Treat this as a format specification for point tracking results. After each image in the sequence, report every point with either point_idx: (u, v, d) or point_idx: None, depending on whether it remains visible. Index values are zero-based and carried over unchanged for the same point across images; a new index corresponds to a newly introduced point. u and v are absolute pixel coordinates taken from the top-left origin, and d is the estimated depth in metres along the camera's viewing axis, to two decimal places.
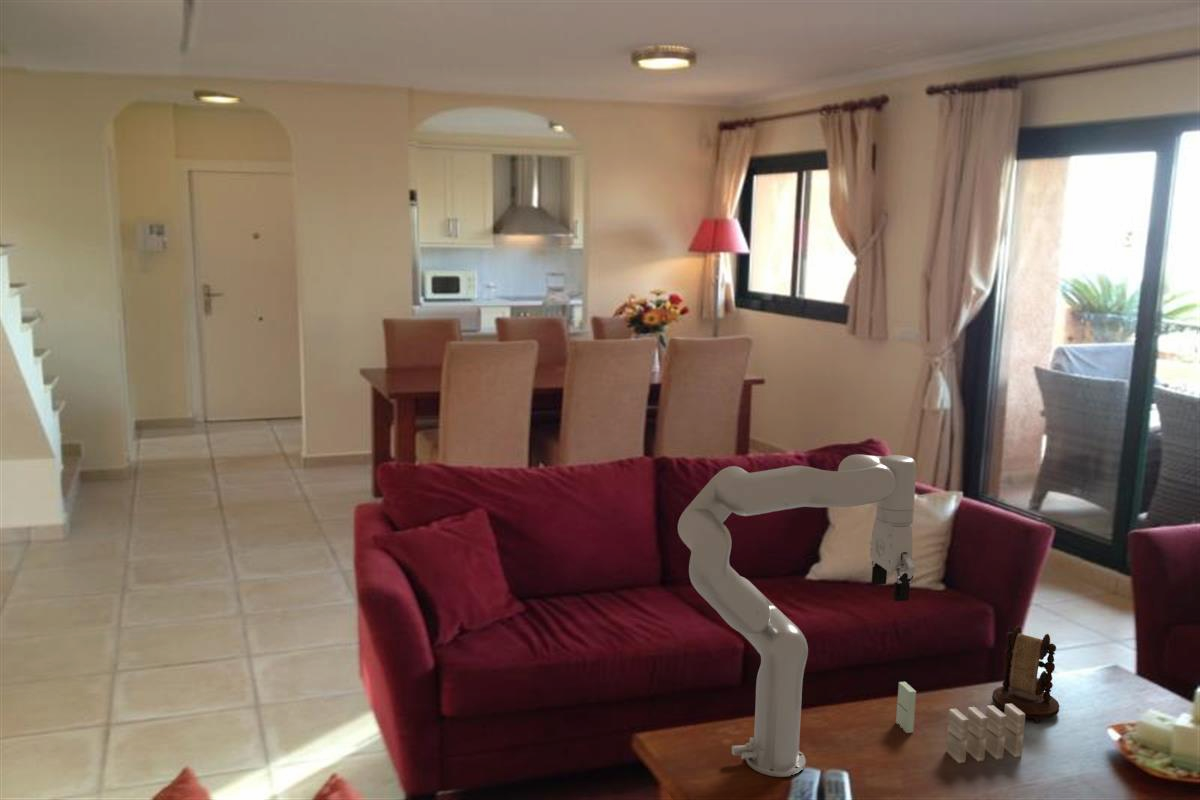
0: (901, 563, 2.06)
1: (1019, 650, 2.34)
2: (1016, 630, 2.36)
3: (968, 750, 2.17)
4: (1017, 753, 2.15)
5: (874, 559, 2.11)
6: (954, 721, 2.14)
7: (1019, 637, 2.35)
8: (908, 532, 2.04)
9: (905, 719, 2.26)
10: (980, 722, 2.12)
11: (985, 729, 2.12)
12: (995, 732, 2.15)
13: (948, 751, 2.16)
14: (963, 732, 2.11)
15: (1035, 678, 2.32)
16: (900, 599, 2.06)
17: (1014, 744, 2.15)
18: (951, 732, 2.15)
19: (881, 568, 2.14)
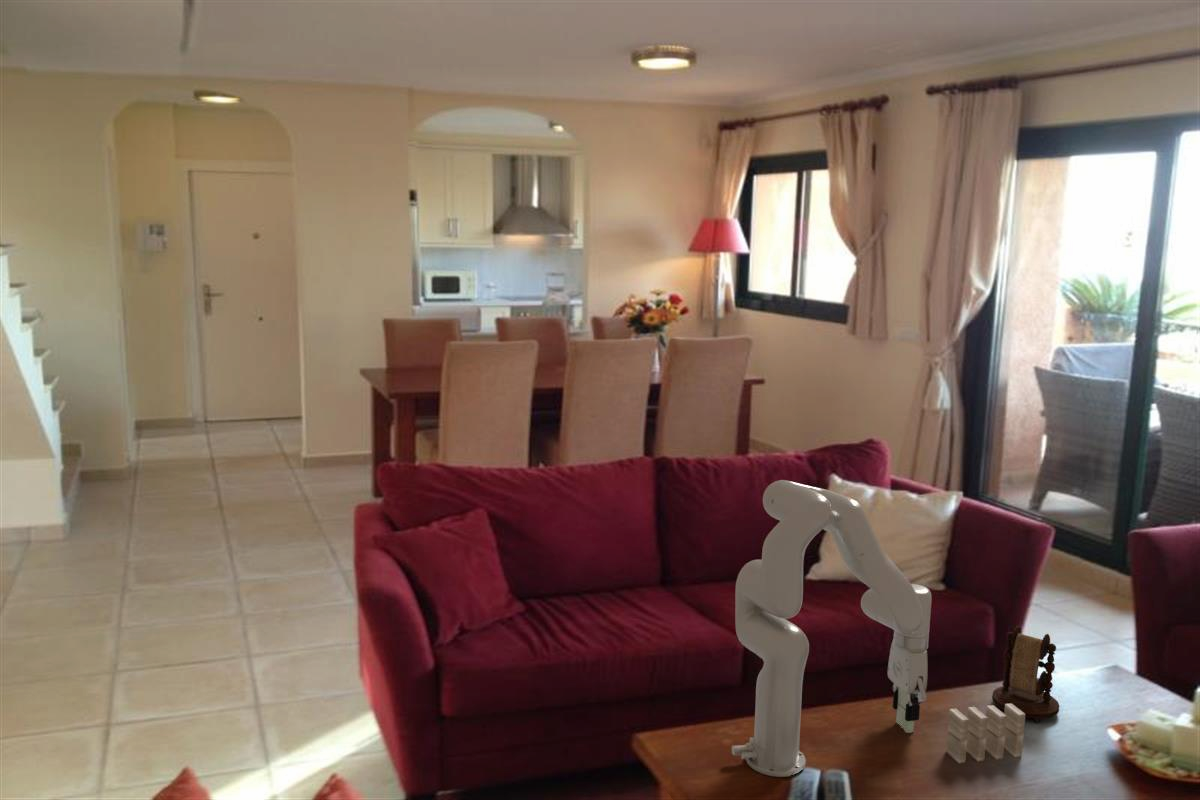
0: None
1: (1019, 650, 2.34)
2: (1016, 630, 2.36)
3: (968, 750, 2.17)
4: (1017, 753, 2.15)
5: (891, 679, 2.27)
6: (954, 721, 2.14)
7: (1019, 637, 2.35)
8: (924, 658, 2.20)
9: None
10: (980, 722, 2.12)
11: (985, 729, 2.12)
12: (995, 732, 2.15)
13: (948, 751, 2.16)
14: (963, 731, 2.11)
15: (1035, 678, 2.32)
16: (911, 719, 2.24)
17: (1014, 744, 2.15)
18: (951, 732, 2.15)
19: None
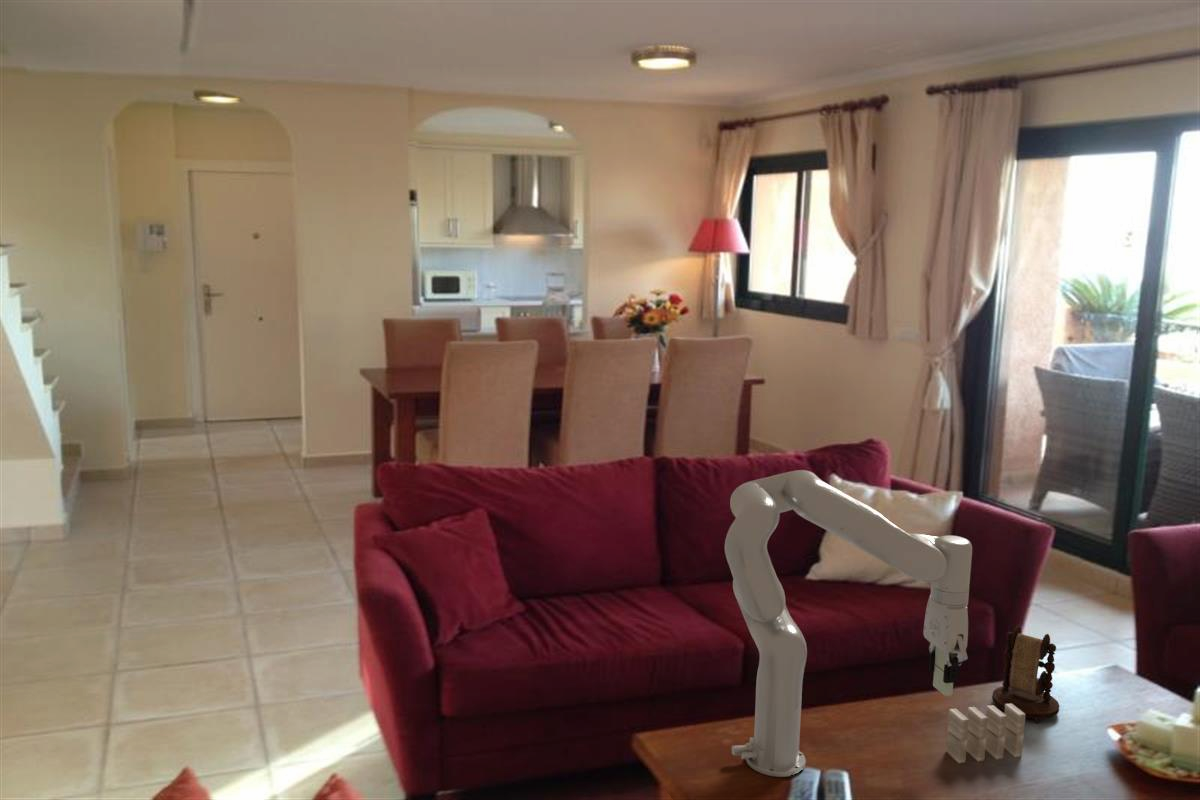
0: None
1: (1019, 650, 2.34)
2: (1016, 630, 2.36)
3: (968, 750, 2.17)
4: (1017, 753, 2.15)
5: (928, 638, 2.11)
6: (954, 721, 2.14)
7: (1019, 637, 2.35)
8: (964, 614, 2.04)
9: (943, 682, 2.10)
10: (980, 722, 2.12)
11: (985, 729, 2.12)
12: (995, 732, 2.15)
13: (948, 751, 2.16)
14: (963, 732, 2.11)
15: (1035, 678, 2.32)
16: (950, 681, 2.08)
17: (1014, 744, 2.15)
18: (951, 732, 2.15)
19: None
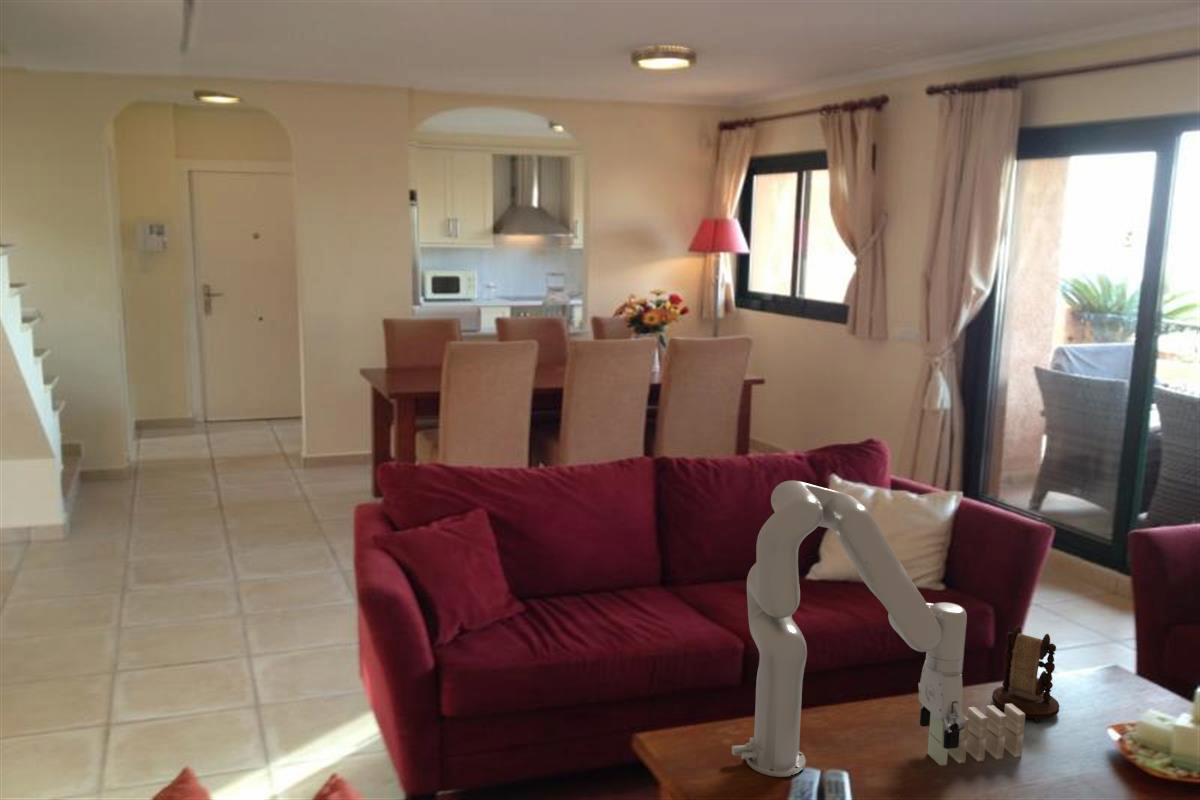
0: (951, 710, 2.09)
1: (1019, 650, 2.34)
2: (1016, 630, 2.36)
3: (968, 750, 2.17)
4: (1017, 753, 2.15)
5: (923, 703, 2.14)
6: None
7: (1019, 637, 2.35)
8: (959, 682, 2.07)
9: (938, 751, 2.12)
10: (980, 722, 2.12)
11: (985, 729, 2.12)
12: (995, 732, 2.15)
13: (948, 751, 2.16)
14: (963, 732, 2.11)
15: (1035, 678, 2.32)
16: (950, 747, 2.08)
17: (1014, 744, 2.15)
18: None
19: (929, 710, 2.17)
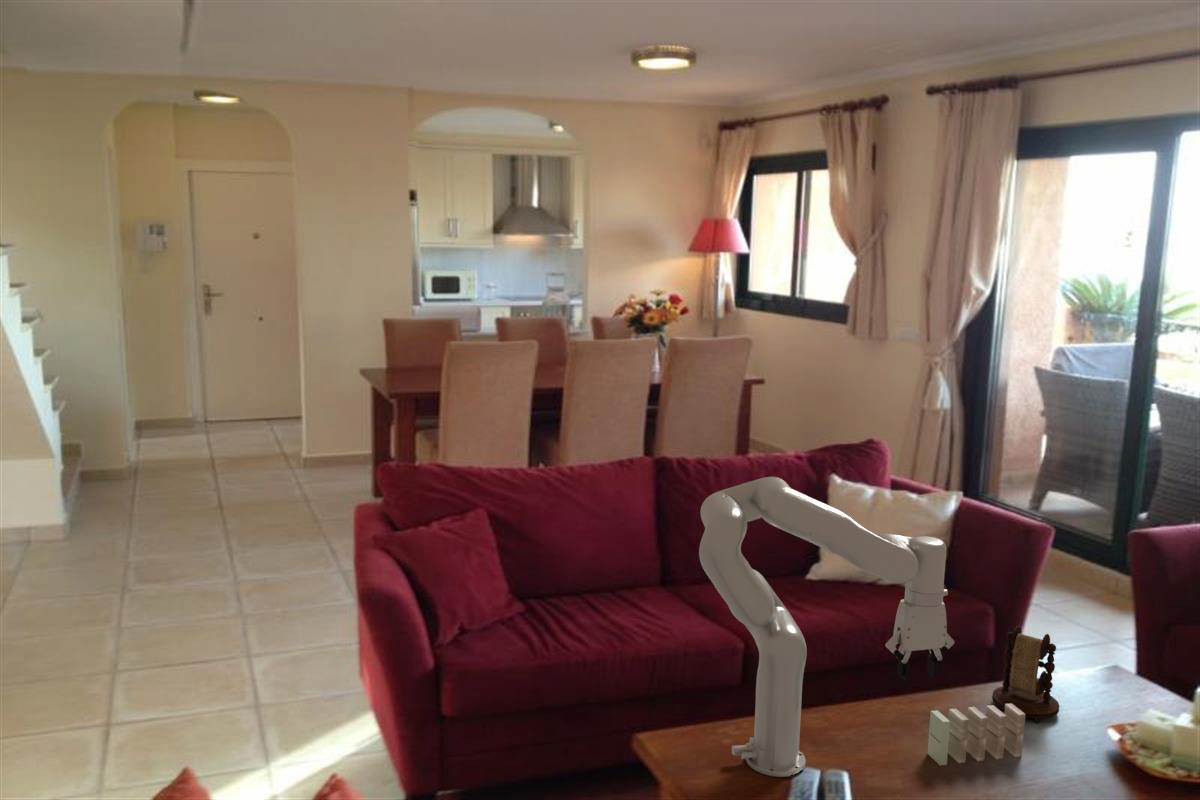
0: None
1: (1019, 650, 2.34)
2: (1016, 630, 2.36)
3: (968, 750, 2.17)
4: (1017, 753, 2.15)
5: None
6: (954, 721, 2.14)
7: (1019, 637, 2.35)
8: (905, 611, 2.05)
9: (938, 751, 2.12)
10: (980, 722, 2.12)
11: (985, 729, 2.12)
12: (995, 732, 2.15)
13: (948, 751, 2.16)
14: (963, 732, 2.11)
15: (1035, 678, 2.32)
16: (901, 676, 2.09)
17: (1014, 744, 2.15)
18: (951, 732, 2.15)
19: (931, 660, 2.10)
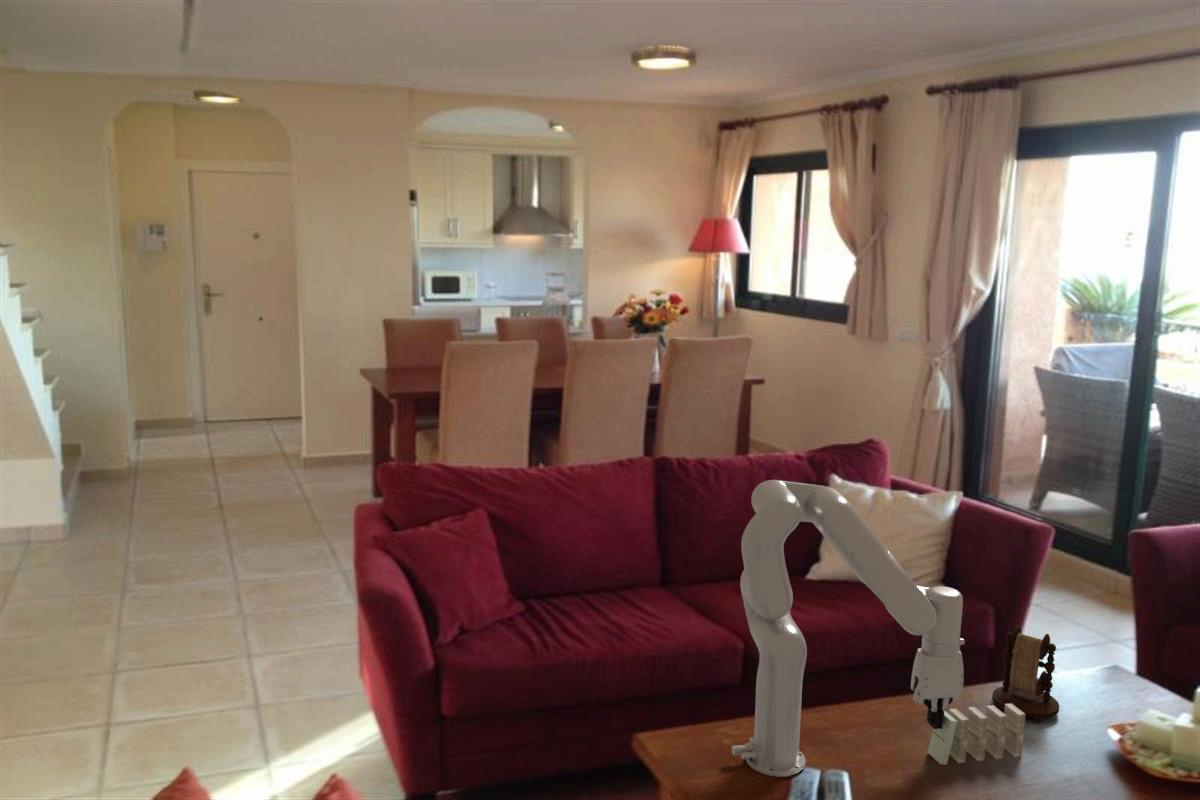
0: None
1: (1019, 650, 2.34)
2: (1016, 630, 2.36)
3: (968, 750, 2.17)
4: (1017, 753, 2.15)
5: None
6: None
7: (1019, 637, 2.35)
8: (922, 660, 2.08)
9: (940, 750, 2.12)
10: (980, 722, 2.12)
11: (985, 729, 2.12)
12: (995, 732, 2.15)
13: None
14: (963, 731, 2.11)
15: (1035, 678, 2.32)
16: (931, 724, 2.13)
17: (1014, 744, 2.15)
18: None
19: (937, 710, 2.12)
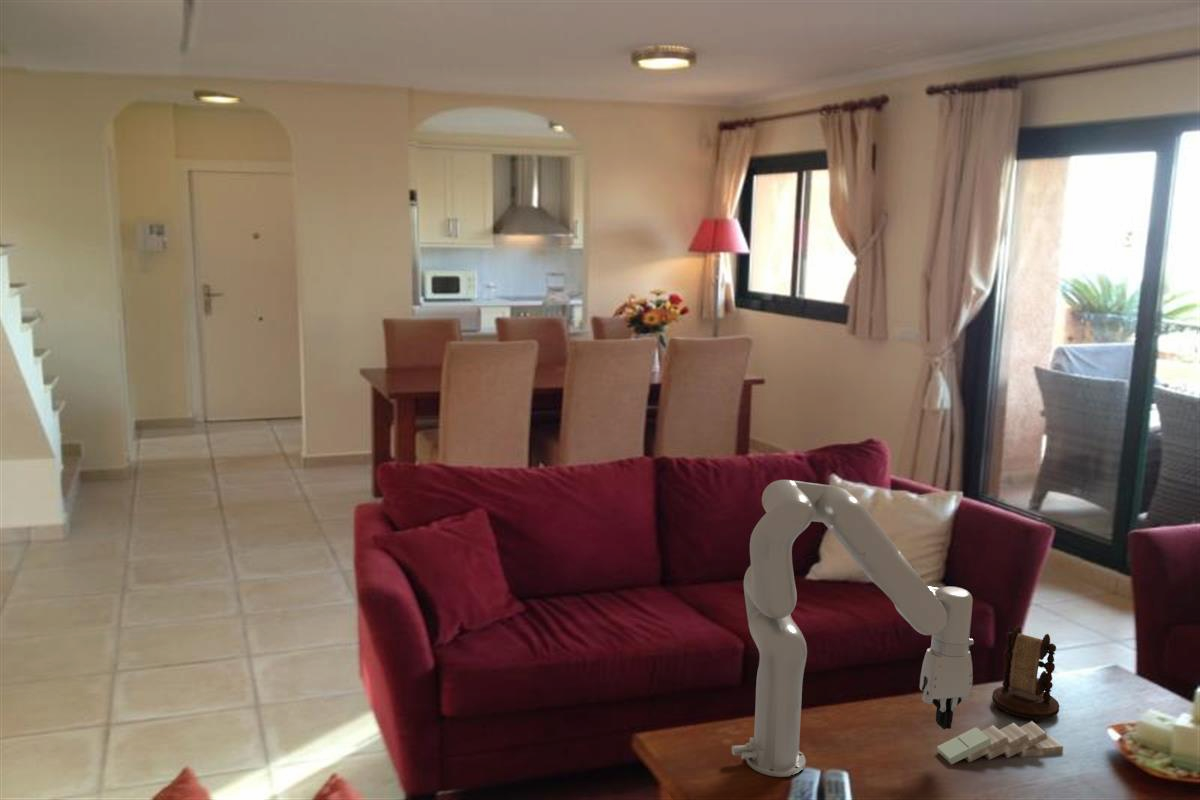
0: None
1: (1019, 650, 2.34)
2: (1016, 630, 2.36)
3: None
4: (1026, 752, 2.16)
5: None
6: (991, 733, 2.17)
7: (1019, 637, 2.35)
8: (931, 660, 2.09)
9: (957, 750, 2.13)
10: (1022, 735, 2.15)
11: (1018, 743, 2.15)
12: None
13: None
14: (996, 744, 2.14)
15: (1035, 678, 2.32)
16: (939, 724, 2.13)
17: (1032, 748, 2.16)
18: None
19: (945, 710, 2.12)
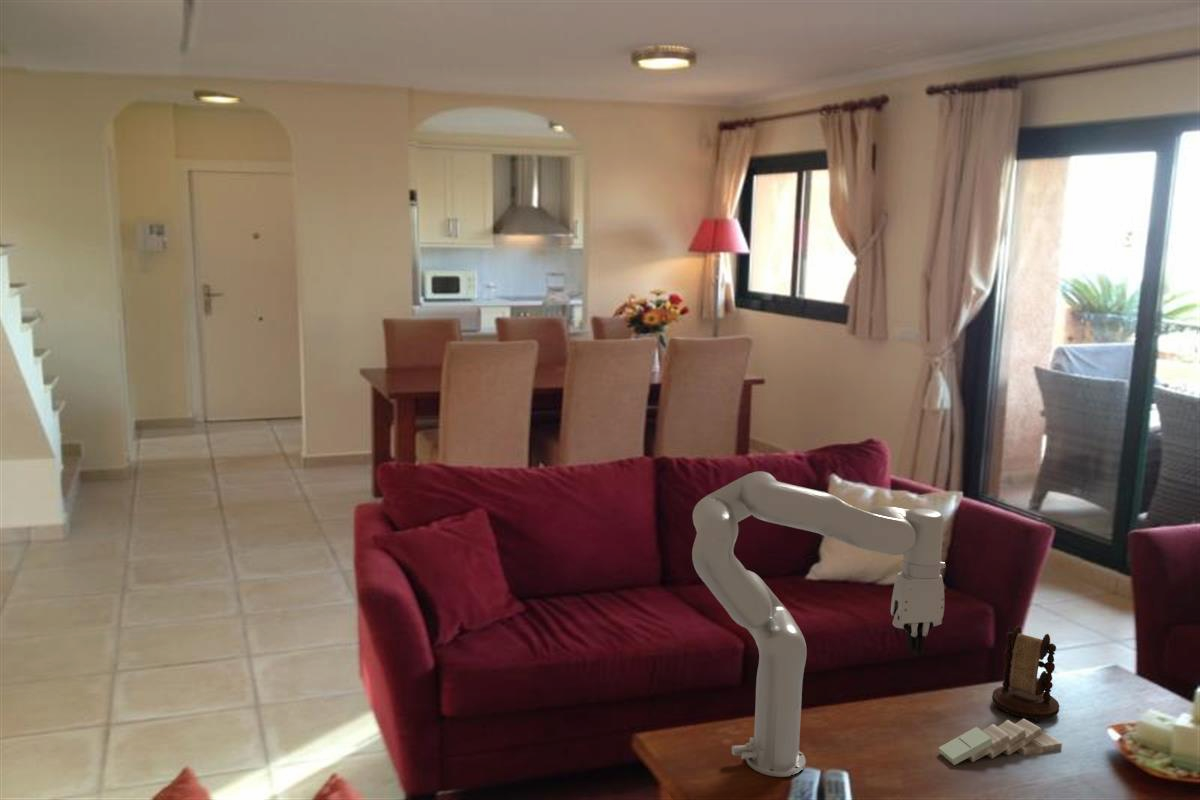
0: None
1: (1019, 650, 2.34)
2: (1016, 630, 2.36)
3: None
4: (1027, 751, 2.16)
5: None
6: (992, 732, 2.17)
7: (1019, 637, 2.35)
8: (902, 583, 2.04)
9: (959, 750, 2.13)
10: (1020, 731, 2.17)
11: (1016, 740, 2.16)
12: None
13: None
14: (998, 743, 2.14)
15: (1035, 678, 2.32)
16: (911, 650, 2.09)
17: (1032, 746, 2.17)
18: None
19: (917, 635, 2.08)
